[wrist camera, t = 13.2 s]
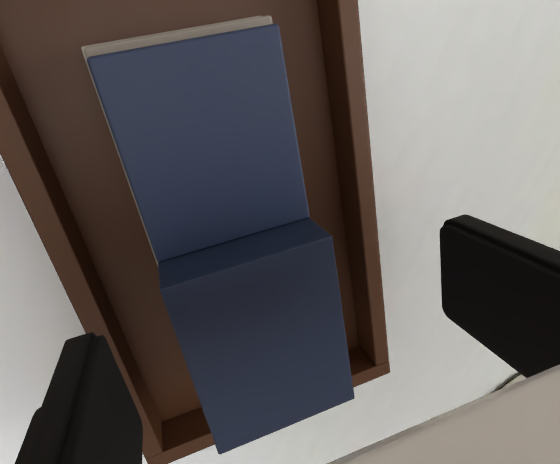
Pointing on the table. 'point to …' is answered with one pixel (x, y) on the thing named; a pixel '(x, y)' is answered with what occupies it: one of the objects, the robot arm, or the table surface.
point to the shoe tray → (120, 203)
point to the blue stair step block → (229, 220)
